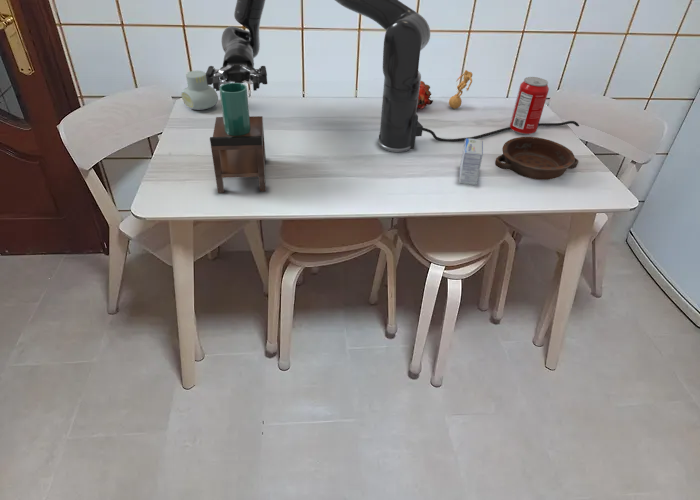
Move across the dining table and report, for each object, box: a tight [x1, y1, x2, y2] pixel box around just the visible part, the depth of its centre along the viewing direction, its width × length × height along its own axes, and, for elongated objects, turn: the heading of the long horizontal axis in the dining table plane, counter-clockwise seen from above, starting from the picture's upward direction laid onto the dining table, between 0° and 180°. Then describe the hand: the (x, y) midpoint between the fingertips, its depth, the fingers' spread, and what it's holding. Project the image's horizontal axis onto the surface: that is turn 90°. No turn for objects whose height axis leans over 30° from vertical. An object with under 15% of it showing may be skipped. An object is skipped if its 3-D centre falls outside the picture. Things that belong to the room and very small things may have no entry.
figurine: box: [448, 69, 473, 110], centre depth 156 cm, size 8×6×12 cm
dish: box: [494, 136, 579, 181], centre depth 130 cm, size 18×22×5 cm
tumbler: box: [219, 82, 251, 136], centre depth 112 cm, size 6×6×10 cm
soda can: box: [509, 76, 550, 136], centre depth 144 cm, size 8×8×15 cm
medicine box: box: [458, 137, 484, 186], centre depth 124 cm, size 8×4×9 cm, turn 168°
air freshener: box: [181, 70, 219, 111], centre depth 150 cm, size 11×8×10 cm
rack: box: [209, 115, 267, 194], centre depth 118 cm, size 11×15×14 cm
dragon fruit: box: [417, 80, 434, 110], centre depth 157 cm, size 8×8×12 cm
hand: (236, 86), depth 116 cm, fingers open, 8 cm apart
